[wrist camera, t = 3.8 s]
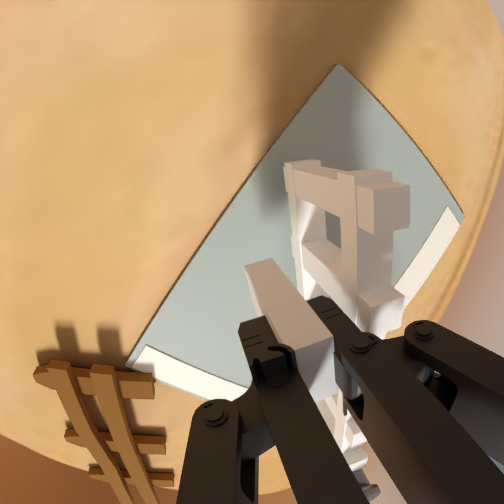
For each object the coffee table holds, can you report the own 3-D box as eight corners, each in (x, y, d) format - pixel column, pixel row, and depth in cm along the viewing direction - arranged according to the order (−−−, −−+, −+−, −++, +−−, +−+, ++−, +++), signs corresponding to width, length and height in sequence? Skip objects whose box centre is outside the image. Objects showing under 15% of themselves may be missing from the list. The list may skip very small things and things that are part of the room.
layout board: (336, 64, 16) (339, 62, 15) (462, 215, 22) (465, 217, 21) (125, 363, 19) (124, 366, 19) (294, 424, 26) (295, 427, 25)
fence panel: (319, 387, 23) (365, 468, 15) (301, 393, 23) (343, 477, 15) (308, 158, 16) (411, 176, 8) (281, 162, 16) (371, 180, 8)
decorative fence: (150, 358, 19) (29, 347, 17) (148, 377, 17) (20, 363, 15) (178, 495, 28) (104, 489, 25) (179, 507, 26) (103, 501, 24)
